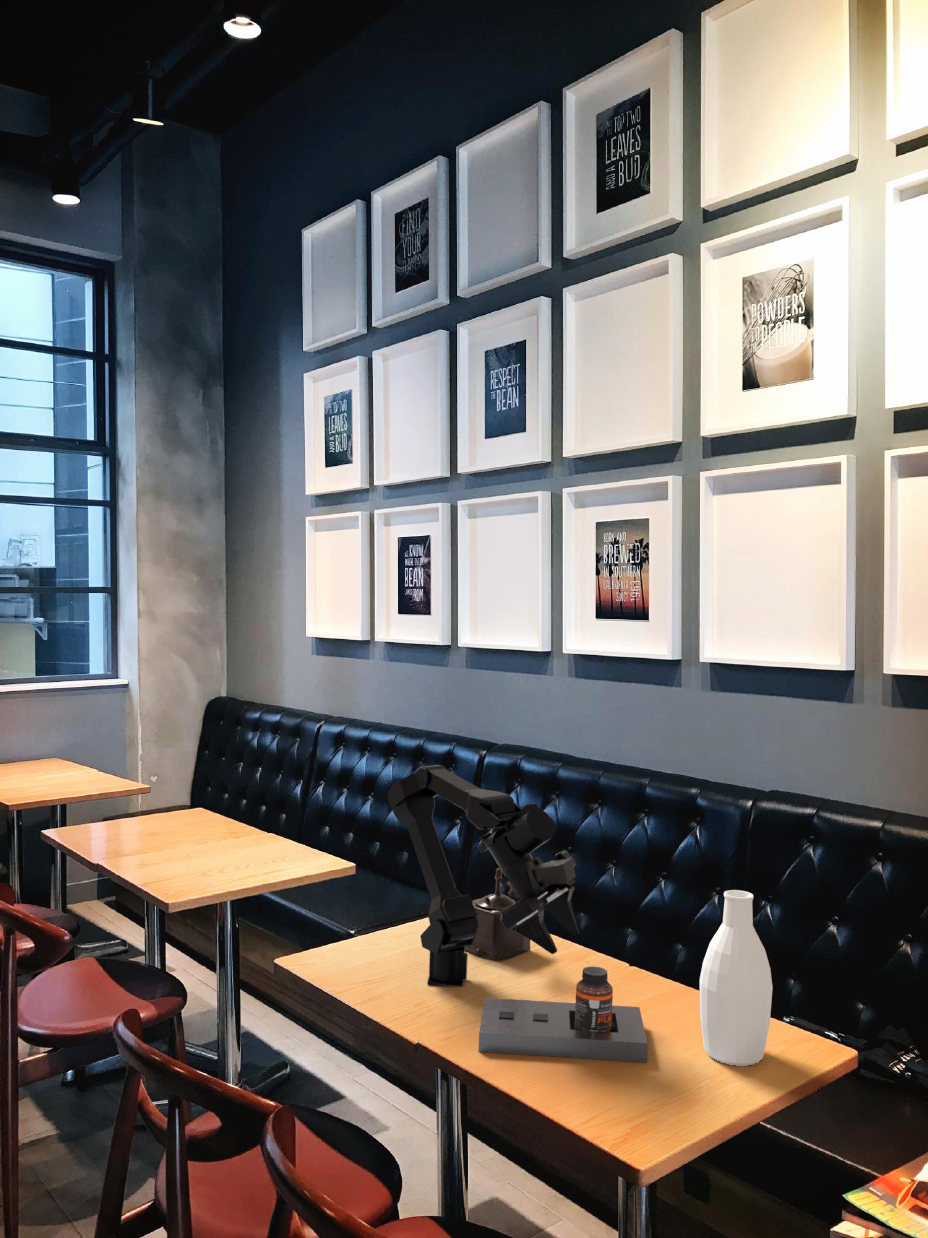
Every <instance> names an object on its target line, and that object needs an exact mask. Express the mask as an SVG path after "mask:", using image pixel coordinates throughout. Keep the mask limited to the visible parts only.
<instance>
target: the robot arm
mask: <svg viewBox="0 0 928 1238" xmlns="http://www.w3.org/2000/svg"><path fill="white" fill-rule="evenodd" d="M437 796H440V797H441V798H443V799H445V800H447V801H449V802H450V803H452V804H453V805H455V806H457V807H458V808H460V809H462V810H463V811H464V812H465V815H466V818H467V820H468V821H469V822H470V823H471V824H473V825H474V826H475V827H476V828H477V829H479V830H481V831H486V830H492V829H498V828H500V829H498V830H497V831H495V832H493V833H491V832H487V833H486V834H484V835H481V837H480V838H481V842H480V844H479V853H484V852H486V851H487V850H489V852H490V854H491V855H492V857H493V859H494V861H495V862H496V864H497V865H498V868H500V869H501V870H502V874H503V875H504V877H502V879H501V880H502V881H503V883H504V884H506V883H507V882H509V883H510V885H511V887H512V888H513V890H514V892H515V893H516V895H517V897H518V898H514V899H513V900H514V901H515V903H514V904H513V905H511V906H510V907H508V908H507V909H505V910H504V911H502V912H501V917H500V920H501V922H502V923H503V925H504V927H505V928H506V929H508V928H510V927H511V926H513V925H514V924H517V925H516V926H515V927H513V928H512V929H511V930H512V931H517V932H518V933H520V934H522V935H523V936H525V937H527V938H528V939H530V941H531V942H533V943H535V944H536V945H538V946H539V947H540V948H542V949H544V950H545V951H547V952H548V953H549V954H551V955H554V954H556V953H558V948H557V946H556V944H555V942H554V939H553V937H552V935H551V933H550V931H549V930H548V928H547V926H546V924H545V922H544V914H545V910H546V911H548V912H549V913H550V914H551V915H552V916H553V918H555V919H556V920H557V921H558V922H559V924H560V925H561V926H562V927H563V928H565V930H566V931H568V932H569V933H570V934H571V935H572V936H574V937H575V936H577V935H579V934H580V931H579V926H578V924H577V920H576V917H575V916H576V915H575V912H574V909H573V905H572V895H573V893H574V890H575V886H573V885H574V884H575V883H576V880H575V878H576V873H575V868H574V867H576V865H577V862H576V860H574V859H573V857H572V856H571V855H570V854H569V852H568V851H567V850H565V851H559V852H557V853H556V854H555V855H554V859H553V860H552V859H551V860H550V861H548V862H544V861H543V860H542V858H541V857H539V856H538V855H537V856H535V857H534V858H533V856H532V854H531V853H532V852H533V851H535V850H537V849H538V848H539V847H541V846H542V845H544V844H546V843H547V842H548V841H550V840H551V839H553V838H554V836H555V834H556V825H555V822H554V819H553V818H551V816H550V815H549V814H548V813H547V812H546V811H544V810H542V809H541V808H539V806H538V803H536V802H534V803H527V804H526V805H524V806H523V807H521V806H520V805H519V804H517V803H516V802H515V799H514V798H513V797H512V796H511V795H510V794H508V793H505V792H501V791H497V790H489V789H485V788H484V789H483V788H480V787H478V786H476V785H475V784H472V783H471V782H470V781H467V779H463V778H462V777H460V776H458V775H456V774H455V773H453V772H451V771H449V770H448V769H447V768H446V767H445V766H444V765H440V764H435V765H424V766H422V767H420V768H418V769H417V770H416V771H415V772H413V773H412V774H410V775H407V776H405V777H403V778H402V779H400V780H398V781H395V782H393V783H392V784H391V786H390V788H389V790H388V792H387V801H388V803H389V806H390V808H391V810H392V812H393V814H394V817H395V819H397V820H398V821H399V822H400V823H401V824H402V825H404V827H406V828H407V831H408V833H409V836H410V839H411V841H412V842H411V843H412V845H413V847H414V848H413V849H414V851H415V854H416V857H417V859H418V863H419V867H420V869H421V872H422V875H423V878H424V881H425V884H426V887H427V890H428V893H429V896H430V900H431V901H430V906H429V910H428V911H429V912H428V920H429V926H428V927H426V929H425V930H424V931H423V932H422V934H420V941H421V947H422V948H423V949H425V950H427V951H428V952H429V966H428V969H429V970H428V977H427V985H432V986H433V985H435V986H449V987H450V986H451V987H463V985H464V981H465V980H466V979H467V976H468V959H469V958H468V956H469V954H468V953H467V952H466V951H465V947H466V946H472V945H473V942H474V938H475V935H476V932H477V928H478V920H477V917H476V916H477V915H478V914H477V912H476V911H475V909H474V906H473V902H472V901H473V899H472V897H471V896H470V894H465V895H464V894H462V893H460V892H459V890H457V887H456V884H455V882H454V879H453V876H452V873H451V871H450V867H449V863H448V862H447V858H446V856H445V852H444V850H443V847H442V844H441V842H440V839H439V836H438V832H437V830H436V827H435V825H434V820H433V815H434V811H435V806H436V802H435V798H436V797H437ZM505 827H506V828H505ZM504 884H503V885H504ZM569 887H571V888H569ZM568 888H569V889H568ZM542 902H543V903H545V902H547V903H546V904H544V905H543V907H544V908H542V909H540V908H541V903H542Z"/></svg>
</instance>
